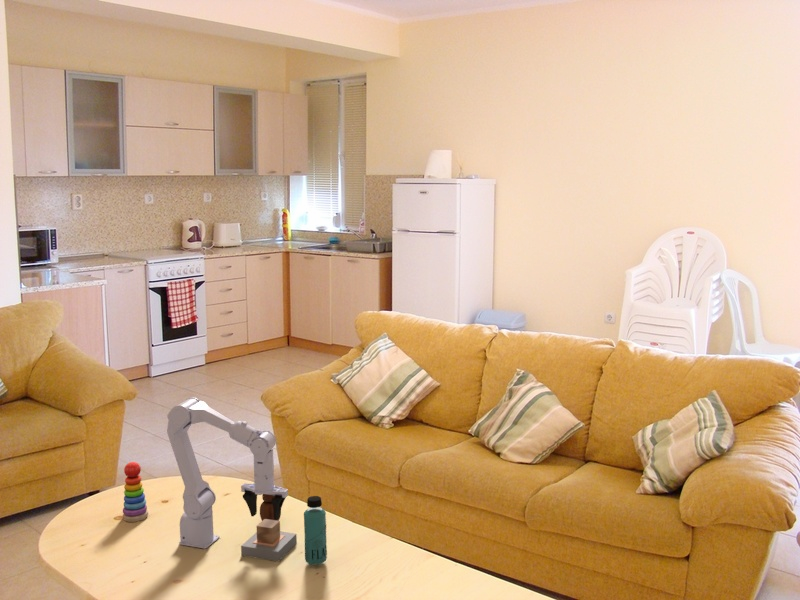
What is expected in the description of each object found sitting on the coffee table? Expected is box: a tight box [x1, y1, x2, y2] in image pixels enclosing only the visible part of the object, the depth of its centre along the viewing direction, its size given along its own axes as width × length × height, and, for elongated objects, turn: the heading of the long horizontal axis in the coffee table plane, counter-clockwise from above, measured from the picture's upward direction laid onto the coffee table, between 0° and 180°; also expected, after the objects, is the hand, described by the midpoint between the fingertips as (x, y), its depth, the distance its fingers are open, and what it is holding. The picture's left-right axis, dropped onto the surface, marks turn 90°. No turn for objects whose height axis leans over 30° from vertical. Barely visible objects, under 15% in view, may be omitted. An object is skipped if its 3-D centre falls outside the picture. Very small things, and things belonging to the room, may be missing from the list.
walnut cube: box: [256, 519, 281, 544], centre depth 227 cm, size 5×5×5 cm
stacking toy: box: [122, 461, 149, 523], centre depth 248 cm, size 8×8×19 cm
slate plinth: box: [240, 530, 298, 563], centre depth 227 cm, size 12×12×3 cm
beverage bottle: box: [303, 495, 328, 566], centre depth 217 cm, size 6×7×20 cm
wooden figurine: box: [259, 494, 282, 522], centre depth 244 cm, size 7×6×15 cm
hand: (265, 516), depth 227 cm, fingers open, 7 cm apart
